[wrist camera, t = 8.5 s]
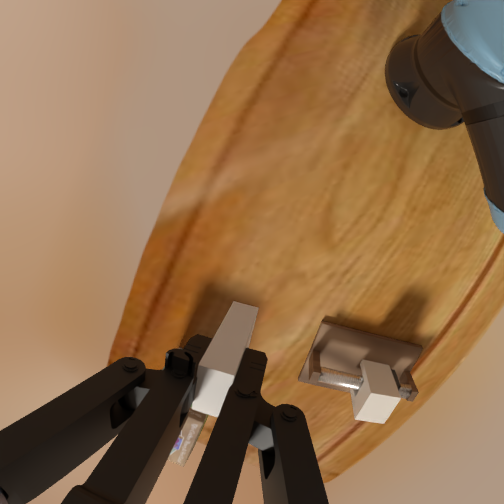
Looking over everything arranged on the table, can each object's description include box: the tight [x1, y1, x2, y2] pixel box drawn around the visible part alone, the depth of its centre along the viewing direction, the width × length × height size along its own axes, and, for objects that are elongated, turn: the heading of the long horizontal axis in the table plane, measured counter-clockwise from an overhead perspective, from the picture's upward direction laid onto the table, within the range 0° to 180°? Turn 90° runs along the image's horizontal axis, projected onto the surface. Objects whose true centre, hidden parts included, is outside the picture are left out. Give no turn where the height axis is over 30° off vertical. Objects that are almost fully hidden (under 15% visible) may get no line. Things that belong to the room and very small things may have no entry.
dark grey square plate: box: [391, 369, 401, 391], centre depth 43 cm, size 5×1×5 cm, turn 166°
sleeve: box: [350, 359, 401, 424], centre depth 42 cm, size 5×5×9 cm
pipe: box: [317, 366, 412, 399], centre depth 43 cm, size 3×16×3 cm, turn 76°
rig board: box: [298, 321, 423, 401], centre depth 46 cm, size 12×19×7 cm, turn 76°
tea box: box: [163, 348, 208, 466], centre depth 49 cm, size 15×10×15 cm, turn 160°
